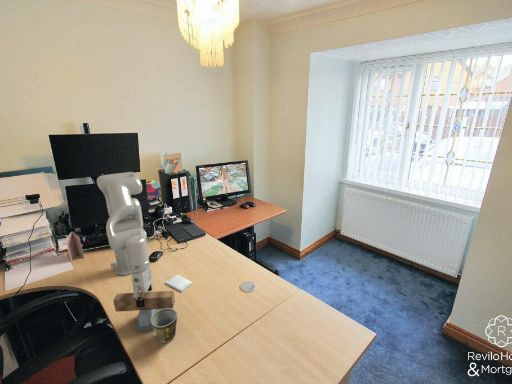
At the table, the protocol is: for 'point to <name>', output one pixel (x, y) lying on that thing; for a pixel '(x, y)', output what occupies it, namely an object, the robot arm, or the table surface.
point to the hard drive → (179, 283)
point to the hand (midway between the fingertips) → (144, 298)
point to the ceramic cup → (165, 324)
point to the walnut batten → (150, 298)
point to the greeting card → (74, 245)
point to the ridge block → (145, 320)
